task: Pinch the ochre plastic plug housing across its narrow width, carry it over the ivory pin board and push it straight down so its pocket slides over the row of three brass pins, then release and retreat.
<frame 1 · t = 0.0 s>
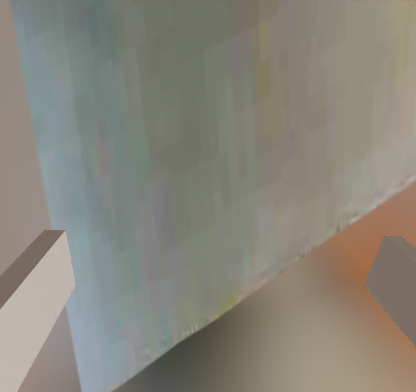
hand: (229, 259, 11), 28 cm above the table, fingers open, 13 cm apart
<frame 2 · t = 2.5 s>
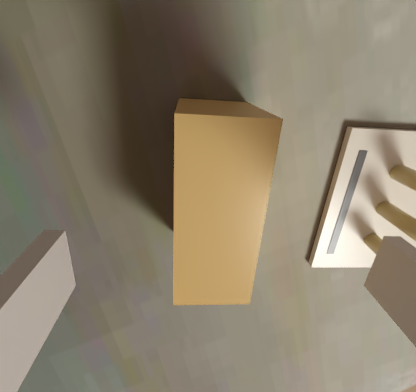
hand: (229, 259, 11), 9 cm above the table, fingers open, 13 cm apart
plug housing: (208, 175, 19), on the table
pin board: (378, 204, 21), on the table
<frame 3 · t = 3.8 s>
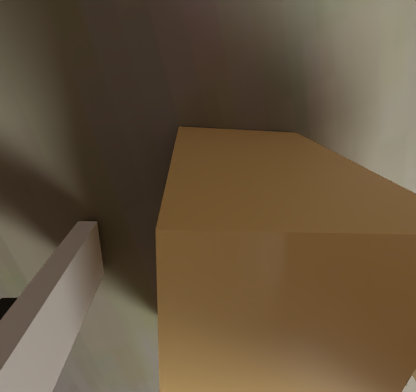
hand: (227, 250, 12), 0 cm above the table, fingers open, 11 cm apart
plug housing: (225, 246, 12), on the table
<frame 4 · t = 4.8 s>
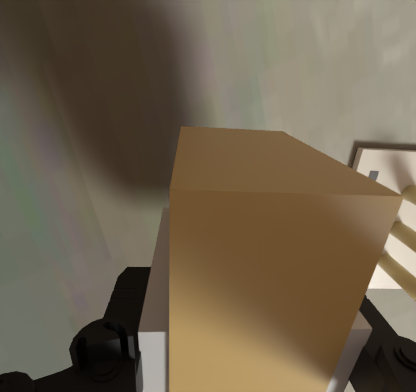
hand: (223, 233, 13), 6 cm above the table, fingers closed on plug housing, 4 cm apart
plug housing: (222, 232, 13), point 6 cm above the table, touching gripper
pin board: (390, 224, 21), on the table
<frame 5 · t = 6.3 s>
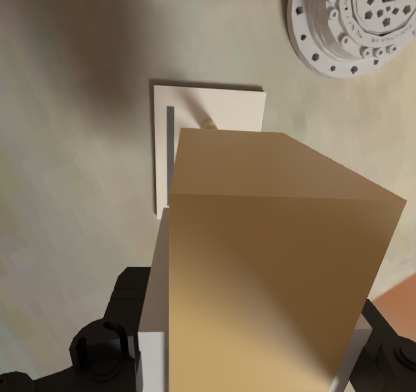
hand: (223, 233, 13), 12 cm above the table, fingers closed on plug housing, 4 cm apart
plug housing: (222, 234, 13), point 12 cm above the table, touching gripper
pin board: (206, 159, 24), on the table
mechanical component: (348, 6, 20), on the table
when the fingers open (1 cm above the table, at t = 7.9 s): plug housing stays where it is, resting on pin board.
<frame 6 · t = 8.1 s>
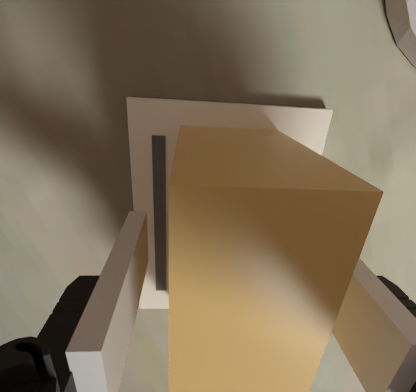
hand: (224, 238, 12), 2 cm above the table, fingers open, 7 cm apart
plug housing: (220, 227, 14), point 1 cm above the table, touching pin board
pin board: (220, 218, 14), on the table
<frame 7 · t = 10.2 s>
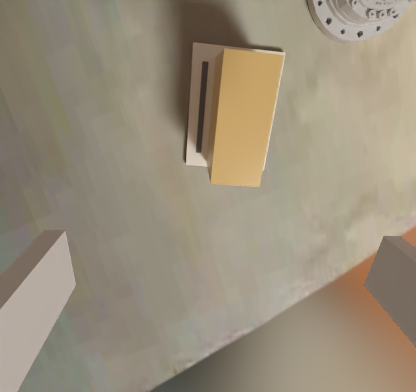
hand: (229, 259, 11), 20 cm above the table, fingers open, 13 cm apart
plug housing: (231, 114, 27), point 1 cm above the table, touching pin board
pin board: (231, 112, 28), on the table
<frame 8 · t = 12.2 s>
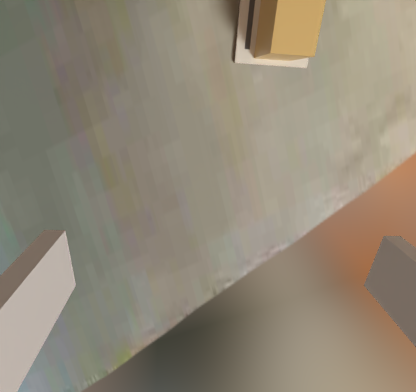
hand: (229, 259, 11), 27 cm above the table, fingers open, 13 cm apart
plug housing: (279, 8, 29), point 1 cm above the table, touching pin board
pin board: (278, 7, 30), on the table
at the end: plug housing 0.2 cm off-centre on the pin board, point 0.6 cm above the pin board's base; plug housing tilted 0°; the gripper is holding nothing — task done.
